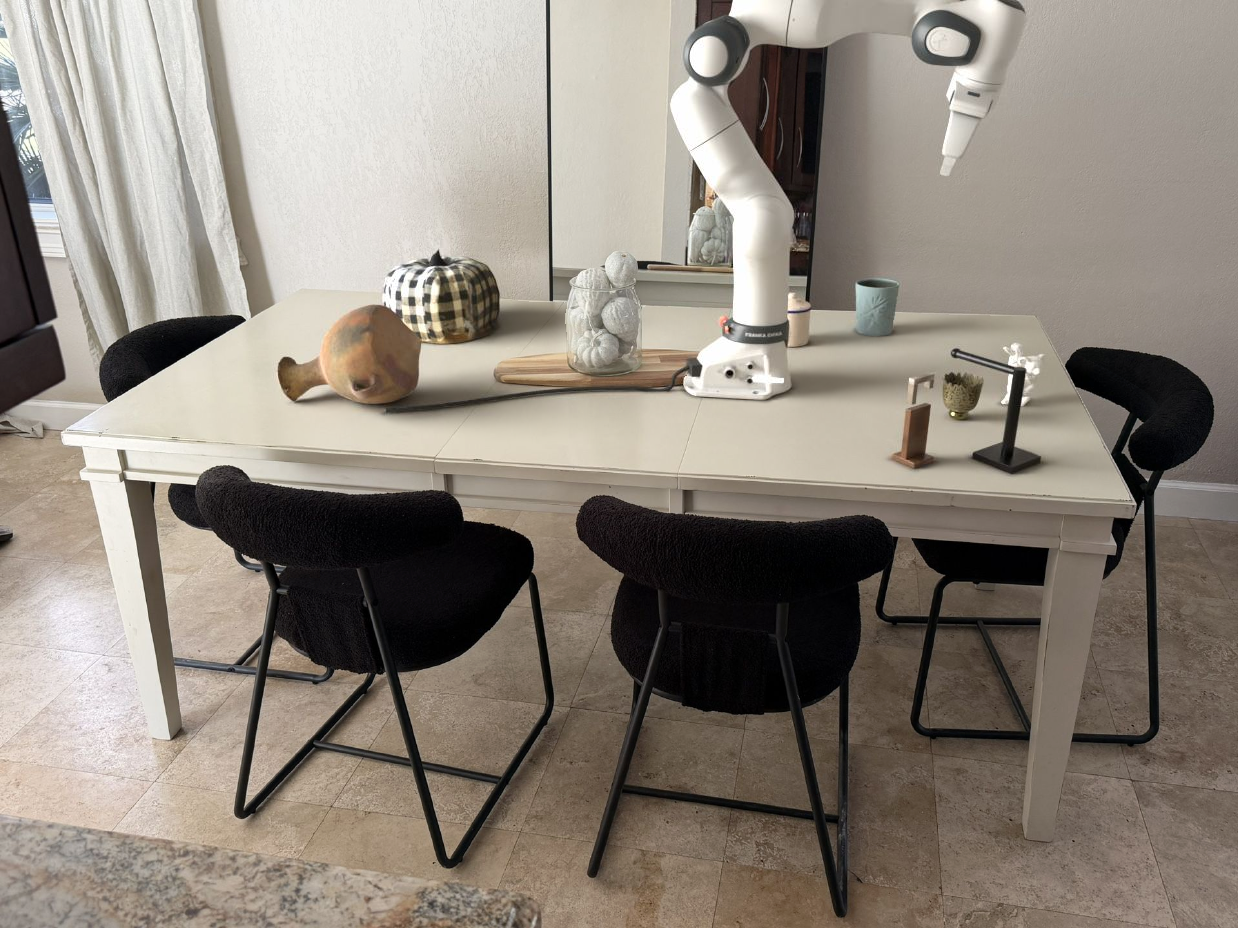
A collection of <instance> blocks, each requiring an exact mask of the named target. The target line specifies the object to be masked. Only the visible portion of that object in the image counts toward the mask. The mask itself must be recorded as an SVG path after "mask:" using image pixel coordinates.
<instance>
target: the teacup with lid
mask: <svg viewBox="0 0 1238 928" xmlns="http://www.w3.org/2000/svg"><path fill="white" fill-rule="evenodd" d="M811 310H812V305H811V303H810V302H808V301H807V300H803V299H802V298H801V297H798V295H797V293H795V292H789V297H788V314H787V318H788V320H789V325H790V328H789V342H788V346H787V348H799V347H802V346H806V345H807V344H808V343H809V337H810V336H809V335H810V321H811Z"/></svg>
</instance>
